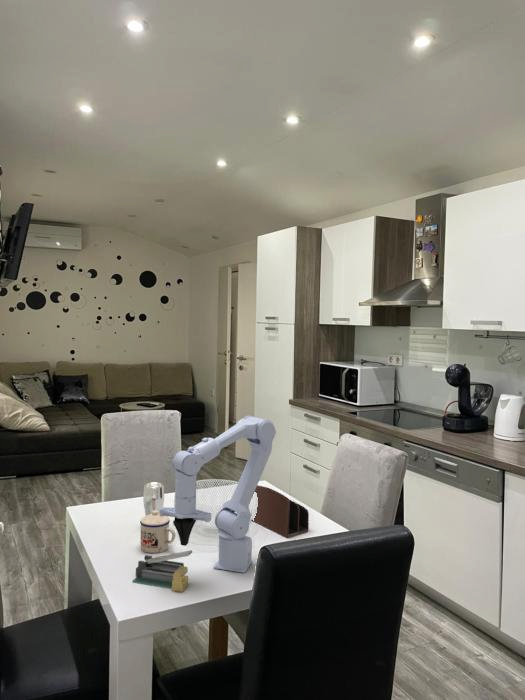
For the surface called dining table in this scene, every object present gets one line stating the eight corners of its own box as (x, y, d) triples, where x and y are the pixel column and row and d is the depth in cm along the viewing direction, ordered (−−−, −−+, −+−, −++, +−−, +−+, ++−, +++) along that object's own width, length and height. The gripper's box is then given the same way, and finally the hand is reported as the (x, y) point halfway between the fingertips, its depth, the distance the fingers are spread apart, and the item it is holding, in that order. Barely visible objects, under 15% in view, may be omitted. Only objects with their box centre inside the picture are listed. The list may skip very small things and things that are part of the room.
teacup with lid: (133, 550, 172) (134, 513, 171) (151, 539, 180) (151, 504, 179) (165, 558, 167) (166, 519, 166) (182, 547, 175) (183, 510, 174)
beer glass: (165, 525, 193) (166, 482, 192) (160, 532, 186) (161, 488, 185) (146, 523, 194) (147, 481, 193) (140, 531, 187) (140, 487, 186)
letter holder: (286, 539, 184) (288, 497, 183) (250, 521, 200) (251, 482, 199) (308, 532, 190) (310, 492, 190) (272, 515, 206) (273, 478, 205)
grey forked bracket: (152, 571, 158) (152, 555, 158) (144, 578, 153) (144, 562, 153) (143, 569, 158) (143, 554, 158) (135, 576, 154) (135, 561, 154)
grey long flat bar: (192, 552, 153) (191, 549, 153) (189, 556, 151) (188, 553, 151) (146, 562, 157) (145, 558, 157) (142, 565, 155) (141, 562, 155)
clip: (188, 584, 150) (189, 567, 150) (182, 592, 146) (182, 574, 146) (178, 582, 151) (178, 565, 151) (171, 590, 147) (171, 573, 146)
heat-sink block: (187, 570, 158) (187, 560, 158) (171, 588, 148) (171, 577, 148) (150, 565, 161) (150, 555, 161) (132, 582, 151) (132, 571, 151)
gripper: (154, 496, 150) (153, 546, 151) (205, 502, 146) (204, 553, 147) (165, 489, 157) (165, 536, 158) (214, 494, 153) (213, 543, 154)
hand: (184, 544), depth 153 cm, fingers closed
